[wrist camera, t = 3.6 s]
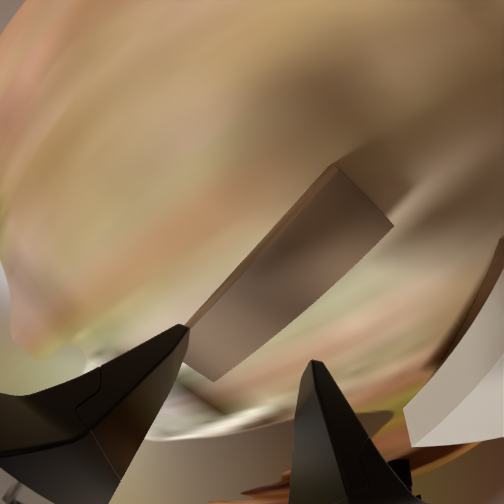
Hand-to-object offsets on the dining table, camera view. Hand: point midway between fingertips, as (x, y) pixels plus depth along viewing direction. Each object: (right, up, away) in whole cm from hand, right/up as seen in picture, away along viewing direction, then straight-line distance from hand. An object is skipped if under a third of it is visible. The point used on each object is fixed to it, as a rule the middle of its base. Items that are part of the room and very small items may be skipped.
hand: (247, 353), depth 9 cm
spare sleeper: (+1, +2, +5) cm, 6 cm away
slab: (+18, -3, +2) cm, 18 cm away
